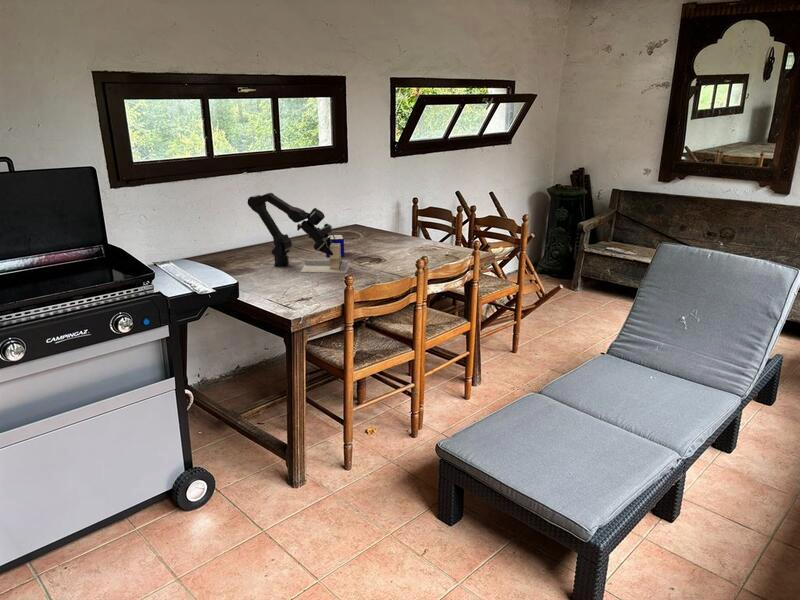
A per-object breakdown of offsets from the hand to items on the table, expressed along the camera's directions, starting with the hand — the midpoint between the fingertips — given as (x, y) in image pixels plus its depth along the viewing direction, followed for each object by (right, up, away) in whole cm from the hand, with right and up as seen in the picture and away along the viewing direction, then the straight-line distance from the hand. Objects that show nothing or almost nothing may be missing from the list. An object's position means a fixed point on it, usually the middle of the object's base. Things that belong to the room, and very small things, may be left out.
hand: (334, 252), depth 304 cm
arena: (-5, -8, +1) cm, 10 cm away
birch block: (+1, -8, +2) cm, 8 cm away
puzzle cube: (-3, +1, +30) cm, 31 cm away
